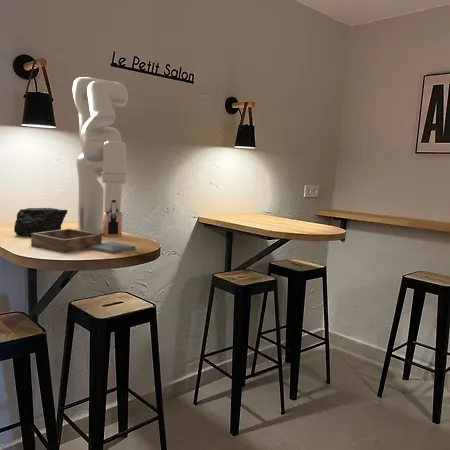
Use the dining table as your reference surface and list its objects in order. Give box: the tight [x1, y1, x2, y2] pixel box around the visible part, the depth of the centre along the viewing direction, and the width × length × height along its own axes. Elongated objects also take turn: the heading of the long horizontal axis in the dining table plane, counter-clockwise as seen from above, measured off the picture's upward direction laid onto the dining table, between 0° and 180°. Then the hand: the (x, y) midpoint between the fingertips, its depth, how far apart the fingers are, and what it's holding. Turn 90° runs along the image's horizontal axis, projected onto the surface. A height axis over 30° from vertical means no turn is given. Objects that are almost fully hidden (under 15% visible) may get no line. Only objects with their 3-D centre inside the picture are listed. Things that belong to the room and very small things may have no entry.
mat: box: [87, 241, 137, 255], centre depth 152 cm, size 11×11×1 cm
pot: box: [102, 211, 123, 239], centre depth 151 cm, size 6×6×8 cm
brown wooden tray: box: [30, 228, 103, 253], centre depth 153 cm, size 16×16×4 cm
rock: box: [13, 207, 68, 237], centre depth 171 cm, size 18×10×15 cm
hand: (112, 231), depth 151 cm, fingers closed on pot, 6 cm apart
